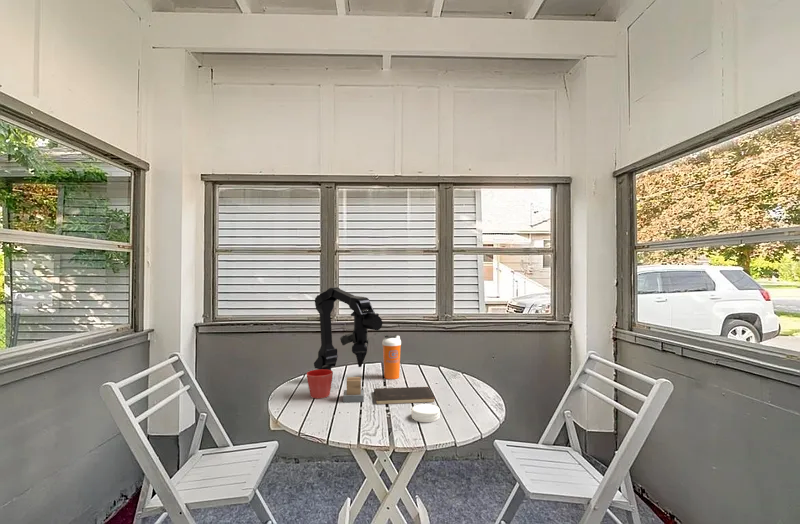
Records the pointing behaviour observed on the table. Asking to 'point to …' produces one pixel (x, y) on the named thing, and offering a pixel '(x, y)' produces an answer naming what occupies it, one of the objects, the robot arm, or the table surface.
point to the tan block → (353, 385)
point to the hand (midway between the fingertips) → (360, 364)
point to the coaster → (425, 413)
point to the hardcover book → (403, 395)
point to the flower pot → (319, 383)
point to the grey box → (353, 397)
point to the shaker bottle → (391, 356)
